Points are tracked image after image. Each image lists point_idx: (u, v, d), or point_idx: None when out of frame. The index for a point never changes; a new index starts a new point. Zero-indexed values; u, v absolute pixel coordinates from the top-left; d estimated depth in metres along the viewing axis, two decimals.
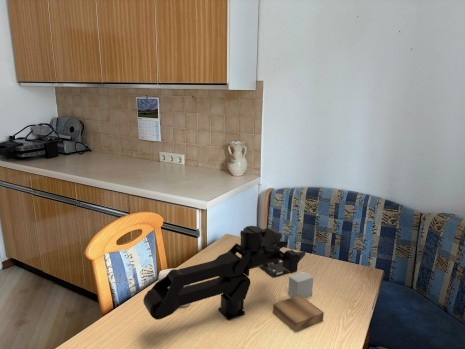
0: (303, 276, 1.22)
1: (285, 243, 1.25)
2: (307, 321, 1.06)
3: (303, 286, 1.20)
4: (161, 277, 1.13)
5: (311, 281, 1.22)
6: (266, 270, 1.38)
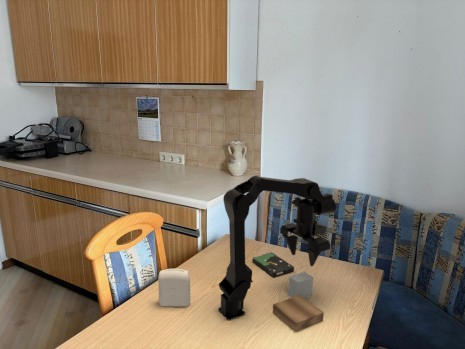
0: (303, 276, 1.22)
1: (294, 252, 1.24)
2: (307, 321, 1.06)
3: (303, 286, 1.20)
4: (161, 277, 1.13)
5: (311, 281, 1.22)
6: (266, 270, 1.38)
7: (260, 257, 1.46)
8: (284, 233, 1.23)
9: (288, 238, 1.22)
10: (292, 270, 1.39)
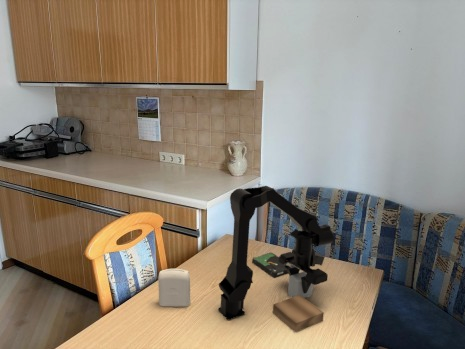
0: (303, 276, 1.22)
1: None
2: (307, 321, 1.06)
3: None
4: (161, 277, 1.13)
5: None
6: (267, 270, 1.38)
7: (260, 257, 1.46)
8: (282, 262, 1.25)
9: (290, 270, 1.23)
10: None
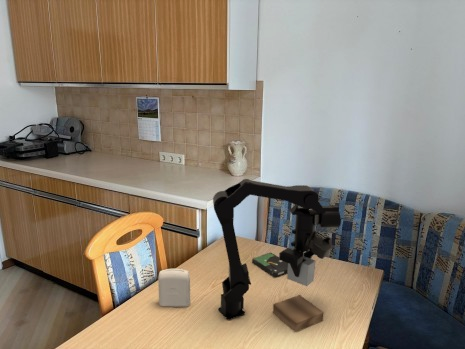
0: None
1: None
2: (307, 321, 1.06)
3: None
4: (161, 277, 1.13)
5: (306, 268, 1.08)
6: (267, 270, 1.38)
7: (260, 257, 1.46)
8: None
9: None
10: None
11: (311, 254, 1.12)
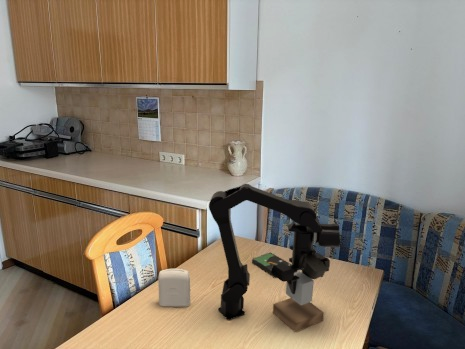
0: (300, 278, 1.08)
1: None
2: (307, 321, 1.06)
3: None
4: (161, 277, 1.13)
5: (300, 287, 1.05)
6: (267, 270, 1.38)
7: (260, 257, 1.46)
8: None
9: None
10: None
11: None
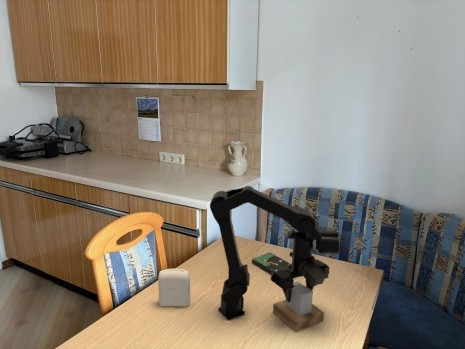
0: (300, 289, 1.09)
1: None
2: (307, 321, 1.06)
3: (291, 295, 1.09)
4: (161, 277, 1.13)
5: (299, 298, 1.06)
6: (268, 270, 1.38)
7: (260, 258, 1.46)
8: None
9: None
10: None
11: None
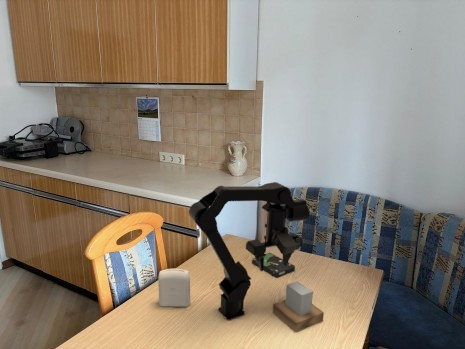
0: (300, 289, 1.09)
1: (284, 262, 1.17)
2: (307, 321, 1.06)
3: (291, 295, 1.09)
4: (161, 277, 1.13)
5: (299, 298, 1.06)
6: (268, 271, 1.38)
7: None
8: None
9: None
10: (293, 269, 1.40)
11: None
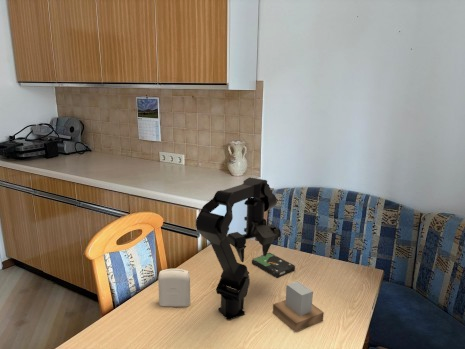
0: (300, 289, 1.09)
1: (264, 253, 1.23)
2: (307, 321, 1.06)
3: (291, 295, 1.09)
4: (161, 277, 1.13)
5: (299, 298, 1.06)
6: (268, 271, 1.38)
7: (259, 258, 1.46)
8: None
9: None
10: (293, 269, 1.40)
11: None
